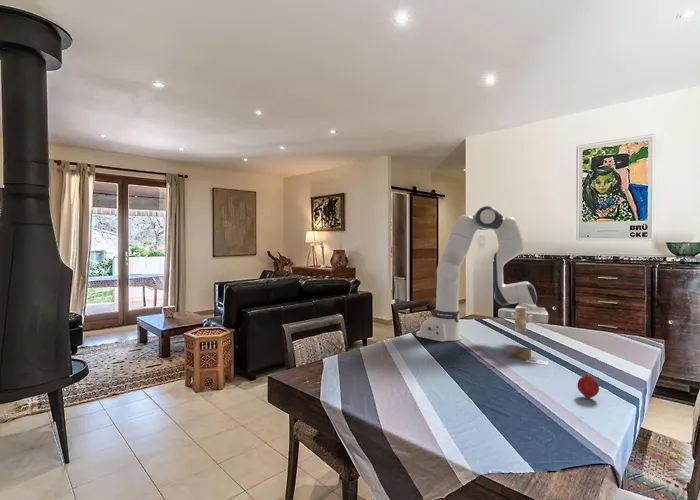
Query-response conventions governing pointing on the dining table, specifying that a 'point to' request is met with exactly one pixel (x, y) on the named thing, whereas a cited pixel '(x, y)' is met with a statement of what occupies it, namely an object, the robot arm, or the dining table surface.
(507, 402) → the dining table surface
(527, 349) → the plinth
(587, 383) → the red rounded piece
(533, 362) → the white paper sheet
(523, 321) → the pillar
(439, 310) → the robot arm
